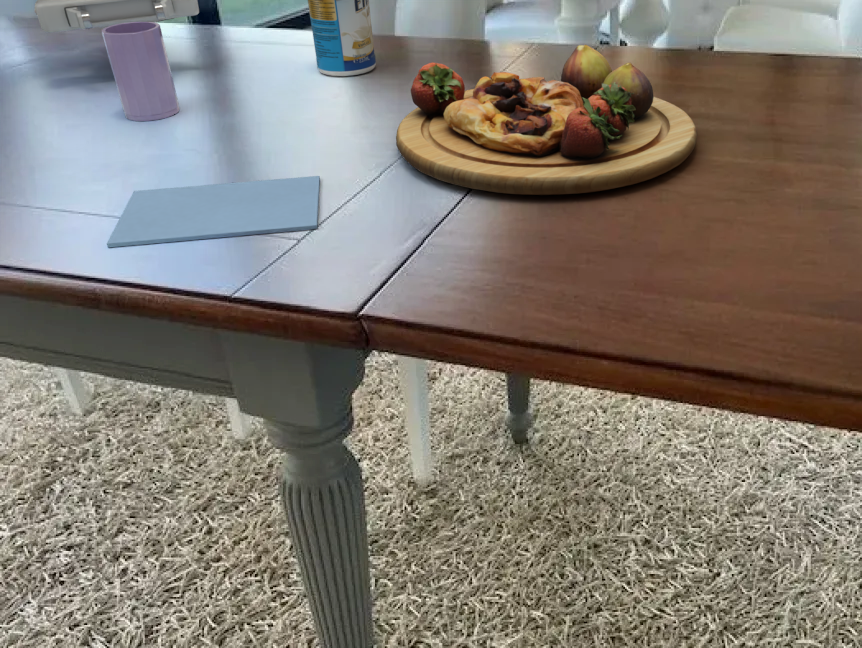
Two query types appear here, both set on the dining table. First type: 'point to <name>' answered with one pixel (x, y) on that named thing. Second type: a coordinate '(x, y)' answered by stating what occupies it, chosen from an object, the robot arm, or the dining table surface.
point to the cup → (141, 70)
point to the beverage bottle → (342, 36)
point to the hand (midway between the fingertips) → (124, 17)
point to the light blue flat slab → (218, 211)
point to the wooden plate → (544, 129)
